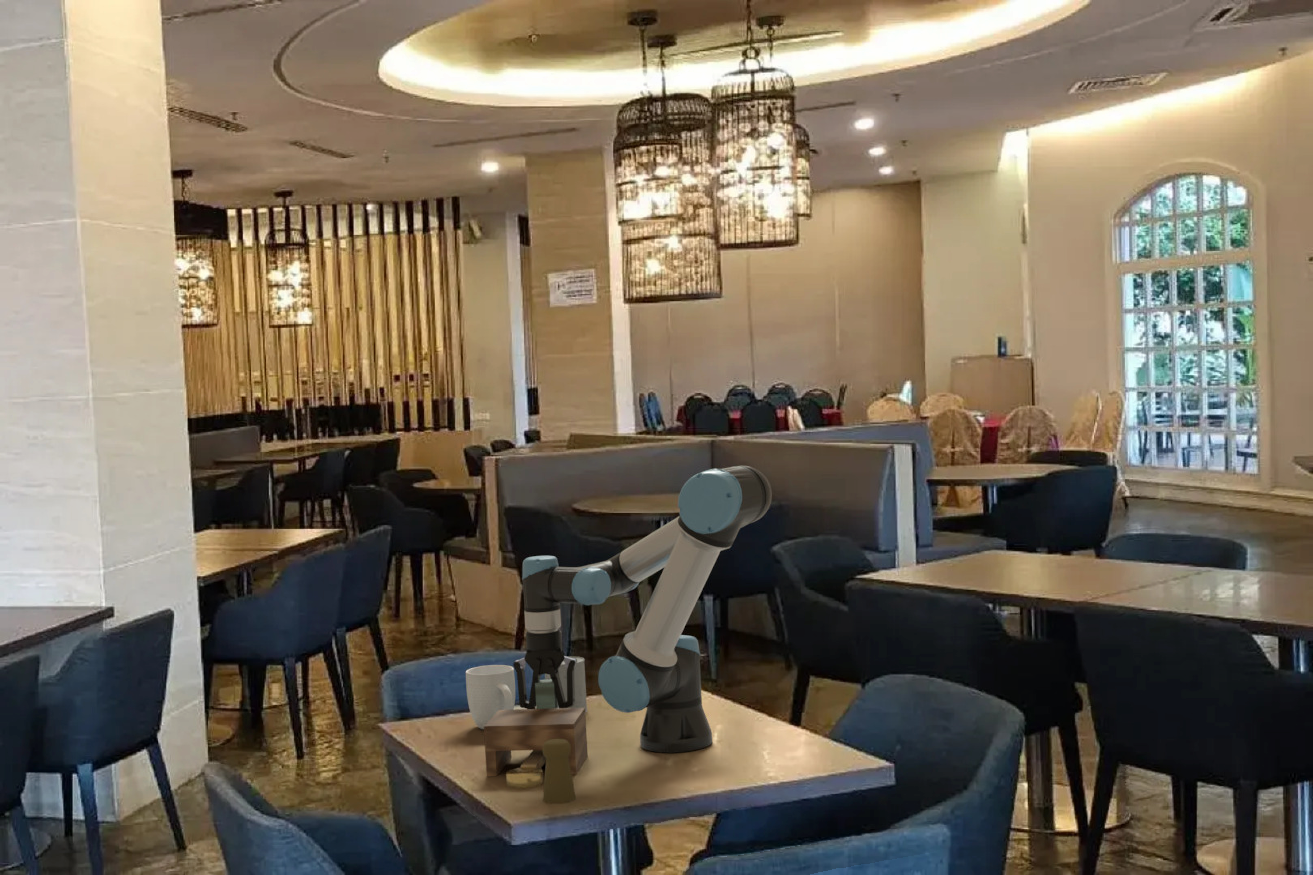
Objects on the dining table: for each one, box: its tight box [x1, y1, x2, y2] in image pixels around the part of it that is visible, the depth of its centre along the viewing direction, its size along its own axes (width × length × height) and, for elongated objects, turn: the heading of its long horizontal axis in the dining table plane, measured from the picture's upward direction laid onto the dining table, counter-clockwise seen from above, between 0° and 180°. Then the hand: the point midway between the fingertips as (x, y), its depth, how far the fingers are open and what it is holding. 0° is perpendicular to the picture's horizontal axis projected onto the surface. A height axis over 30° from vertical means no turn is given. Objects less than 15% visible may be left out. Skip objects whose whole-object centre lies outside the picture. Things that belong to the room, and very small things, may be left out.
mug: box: [465, 664, 516, 731], centre depth 327 cm, size 15×11×13 cm
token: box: [505, 766, 544, 790], centre depth 280 cm, size 7×7×2 cm
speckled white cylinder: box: [544, 655, 588, 714], centre depth 339 cm, size 10×10×12 cm
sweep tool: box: [520, 679, 559, 769], centre depth 295 cm, size 24×4×14 cm, turn 174°
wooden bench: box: [483, 708, 589, 777], centre depth 292 cm, size 18×14×10 cm
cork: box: [542, 739, 576, 805], centre depth 268 cm, size 6×6×11 cm
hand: (549, 739), depth 305 cm, fingers closed on sweep tool, 4 cm apart
